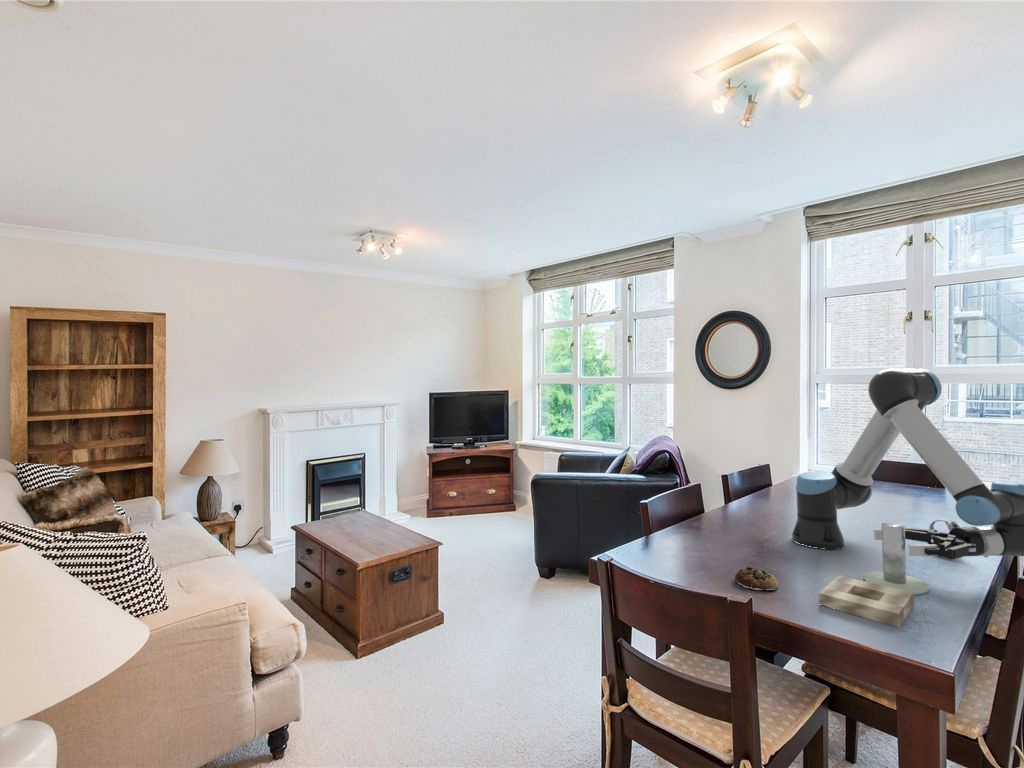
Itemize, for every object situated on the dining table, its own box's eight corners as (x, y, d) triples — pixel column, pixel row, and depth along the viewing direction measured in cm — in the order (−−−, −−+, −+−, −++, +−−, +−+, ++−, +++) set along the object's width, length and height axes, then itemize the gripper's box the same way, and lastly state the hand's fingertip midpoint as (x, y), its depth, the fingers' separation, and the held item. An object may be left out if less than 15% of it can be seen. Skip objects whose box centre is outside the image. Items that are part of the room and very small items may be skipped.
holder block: (819, 605, 125) (818, 593, 125) (839, 586, 136) (838, 575, 136) (899, 627, 113) (898, 613, 113) (913, 604, 124) (913, 592, 124)
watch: (959, 560, 152) (958, 524, 152) (927, 553, 159) (926, 518, 159) (967, 556, 154) (965, 521, 154) (934, 549, 161) (933, 515, 161)
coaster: (857, 584, 137) (857, 581, 137) (871, 570, 146) (871, 567, 146) (923, 599, 126) (923, 596, 126) (933, 583, 136) (933, 580, 136)
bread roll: (727, 584, 139) (729, 565, 140) (744, 578, 147) (745, 561, 147) (770, 597, 131) (771, 577, 132) (785, 590, 139) (786, 572, 139)
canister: (881, 580, 137) (879, 525, 137) (885, 575, 140) (884, 521, 140) (904, 585, 133) (902, 529, 133) (908, 580, 136) (906, 525, 136)
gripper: (1018, 572, 122) (927, 573, 124) (938, 540, 147) (862, 541, 148) (1017, 541, 122) (926, 542, 124) (937, 515, 147) (861, 516, 148)
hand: (891, 542), depth 136 cm, fingers open, 13 cm apart
